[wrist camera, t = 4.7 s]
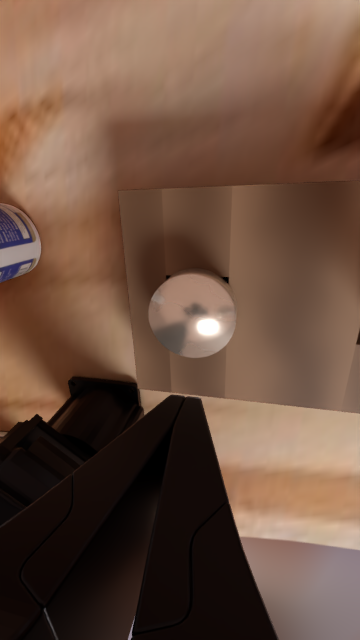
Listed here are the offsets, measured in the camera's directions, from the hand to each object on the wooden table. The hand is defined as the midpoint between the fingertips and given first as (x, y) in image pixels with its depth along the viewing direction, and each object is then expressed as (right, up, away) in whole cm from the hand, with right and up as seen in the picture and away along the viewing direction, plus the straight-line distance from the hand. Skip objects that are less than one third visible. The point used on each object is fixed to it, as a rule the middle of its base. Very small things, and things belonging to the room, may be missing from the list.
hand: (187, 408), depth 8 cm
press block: (+7, +5, +11) cm, 14 cm away
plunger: (+2, +5, +12) cm, 13 cm away
